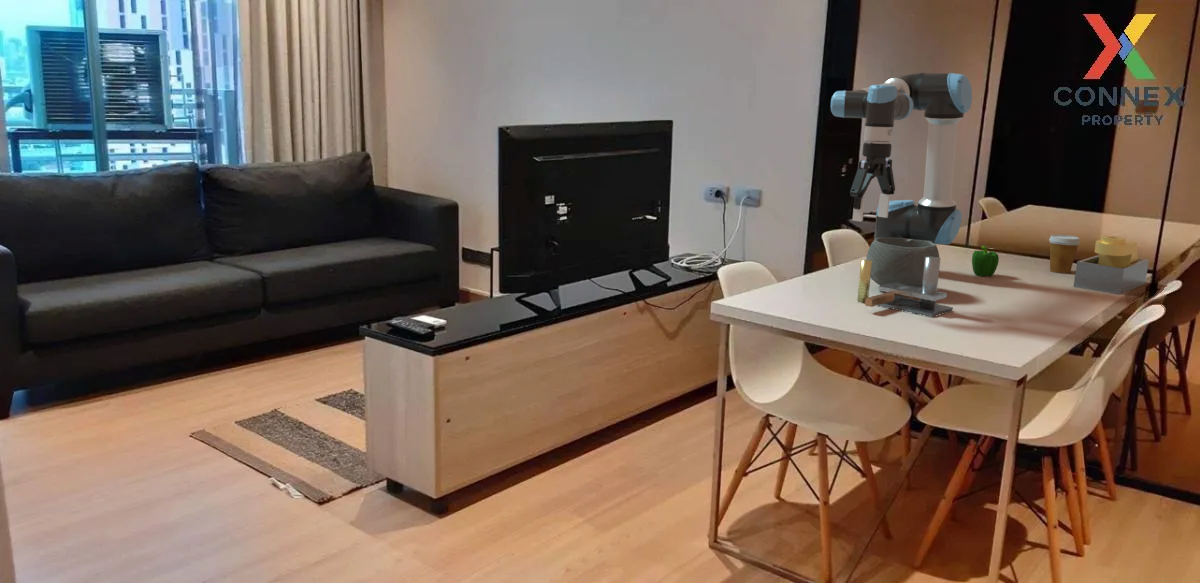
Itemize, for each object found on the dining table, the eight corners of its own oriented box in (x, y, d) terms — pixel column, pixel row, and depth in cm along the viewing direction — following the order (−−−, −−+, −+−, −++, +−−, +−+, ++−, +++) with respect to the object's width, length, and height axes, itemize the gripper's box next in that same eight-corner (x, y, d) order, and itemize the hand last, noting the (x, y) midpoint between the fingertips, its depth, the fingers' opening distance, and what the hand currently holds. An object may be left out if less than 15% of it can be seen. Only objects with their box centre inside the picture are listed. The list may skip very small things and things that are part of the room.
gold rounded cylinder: (855, 301, 266) (858, 260, 263) (860, 300, 268) (864, 259, 265) (864, 303, 264) (868, 262, 261) (870, 302, 266) (874, 260, 263)
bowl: (860, 293, 276) (865, 244, 272) (866, 280, 295) (871, 233, 292) (935, 301, 269) (941, 250, 266) (936, 287, 288) (942, 239, 285)
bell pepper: (984, 272, 313) (987, 243, 311) (1001, 277, 305) (1005, 247, 303) (963, 273, 310) (967, 243, 308) (980, 278, 303) (984, 248, 300)
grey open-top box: (1073, 286, 294) (1077, 261, 293) (1100, 276, 311) (1103, 253, 309) (1120, 294, 285) (1124, 268, 283) (1145, 284, 301) (1149, 259, 299)
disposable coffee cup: (1081, 272, 317) (1086, 238, 314) (1065, 275, 311) (1070, 240, 309) (1054, 267, 324) (1059, 233, 322) (1039, 270, 319) (1043, 235, 316)
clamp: (1116, 292, 288) (1124, 241, 285) (1084, 286, 295) (1092, 237, 291) (1137, 283, 302) (1145, 234, 298) (1106, 278, 308) (1114, 231, 305)
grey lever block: (854, 310, 255) (859, 256, 252) (894, 298, 270) (900, 248, 267) (913, 323, 243) (919, 267, 240) (952, 310, 258) (958, 257, 255)
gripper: (866, 144, 244) (858, 224, 249) (912, 142, 261) (904, 217, 266) (841, 142, 250) (834, 220, 254) (888, 140, 267) (881, 213, 271)
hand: (870, 219), depth 260 cm, fingers open, 13 cm apart
